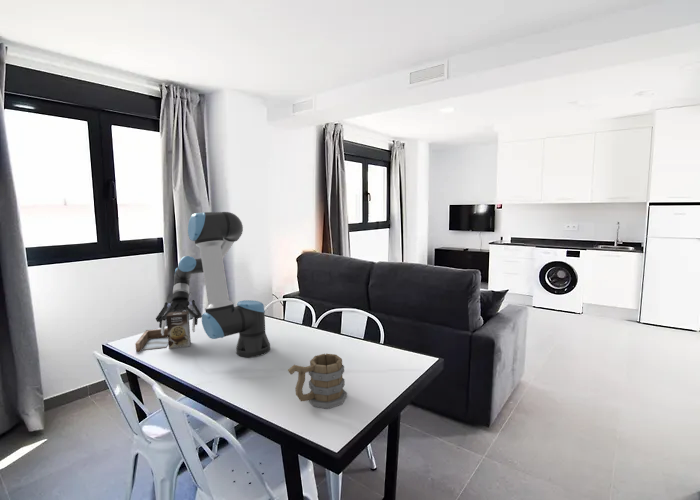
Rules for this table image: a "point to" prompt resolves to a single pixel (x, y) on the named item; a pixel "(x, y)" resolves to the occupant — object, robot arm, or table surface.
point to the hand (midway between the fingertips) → (178, 332)
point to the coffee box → (178, 329)
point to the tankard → (322, 381)
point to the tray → (152, 340)
